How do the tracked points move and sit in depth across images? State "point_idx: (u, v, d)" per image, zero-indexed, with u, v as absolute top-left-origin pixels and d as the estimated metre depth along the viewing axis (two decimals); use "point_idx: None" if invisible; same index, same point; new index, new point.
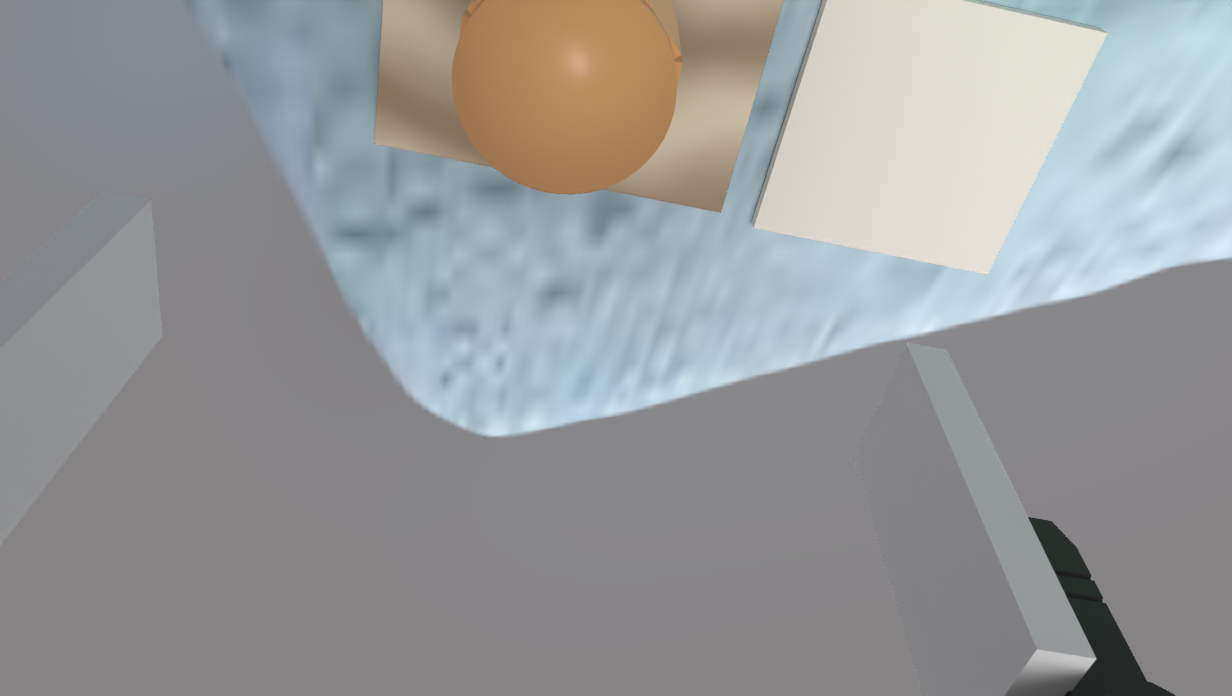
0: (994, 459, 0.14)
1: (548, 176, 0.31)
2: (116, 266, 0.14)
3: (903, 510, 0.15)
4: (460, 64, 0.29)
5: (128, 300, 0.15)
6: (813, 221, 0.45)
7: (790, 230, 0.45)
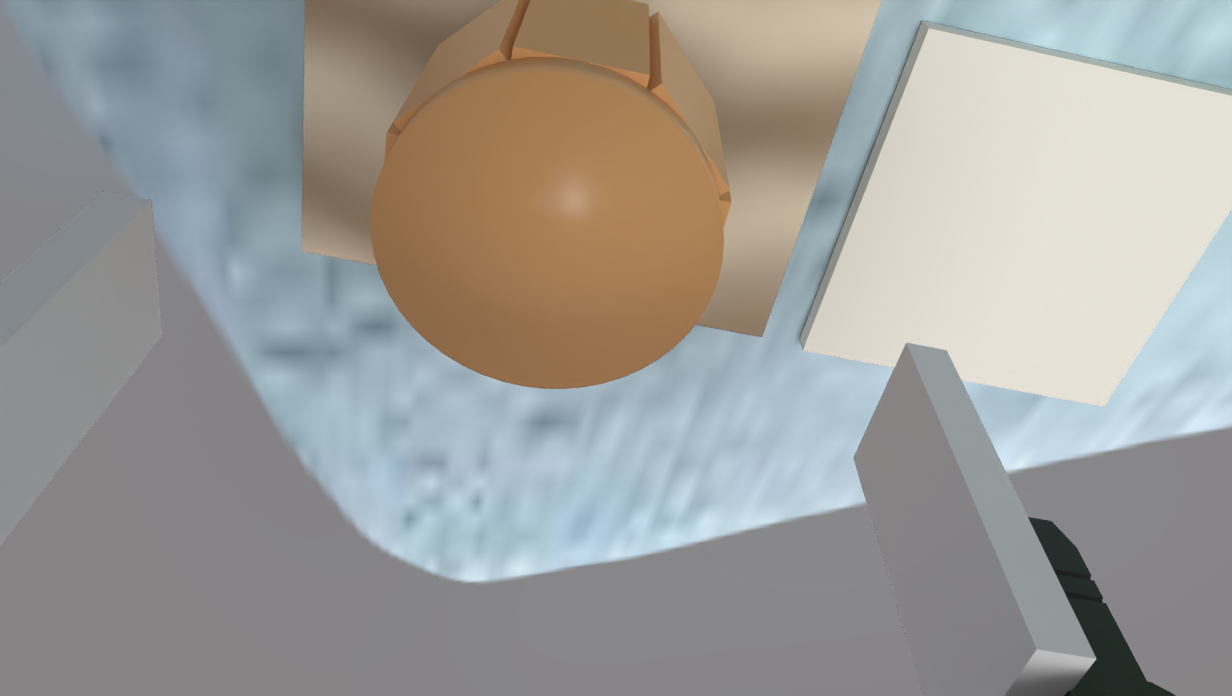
0: (994, 460, 0.14)
1: (524, 365, 0.20)
2: (117, 266, 0.14)
3: (903, 510, 0.15)
4: (383, 210, 0.18)
5: (128, 300, 0.15)
6: (881, 343, 0.34)
7: (851, 353, 0.35)
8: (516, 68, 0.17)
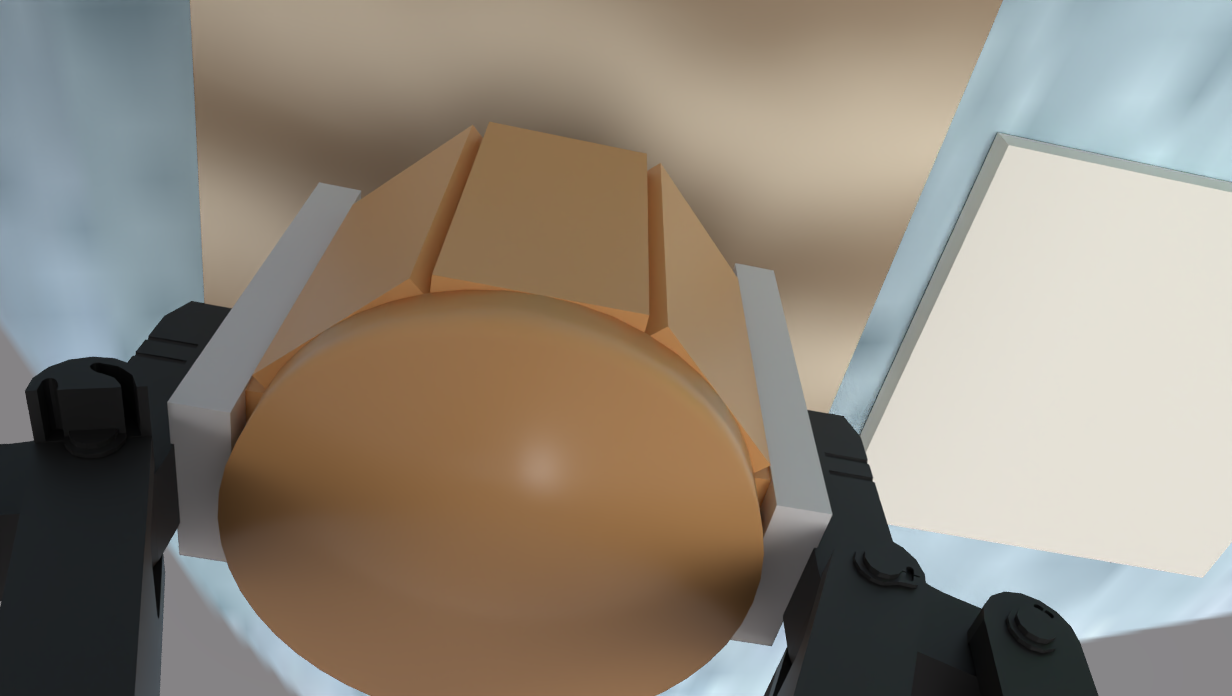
0: (791, 360, 0.15)
1: None
2: None
3: None
4: (237, 512, 0.12)
5: None
6: (933, 507, 0.28)
7: (895, 518, 0.28)
8: (435, 316, 0.11)
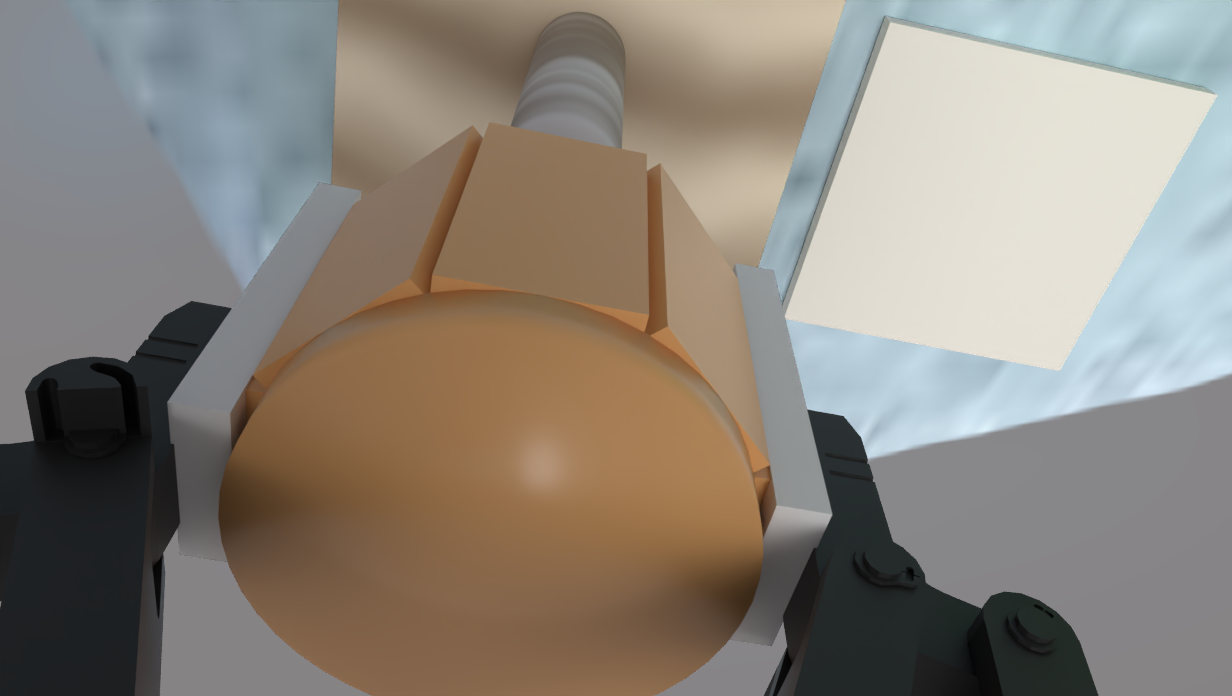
0: (791, 360, 0.15)
1: None
2: None
3: None
4: (237, 511, 0.12)
5: None
6: (855, 311, 0.38)
7: (827, 320, 0.38)
8: (435, 317, 0.11)
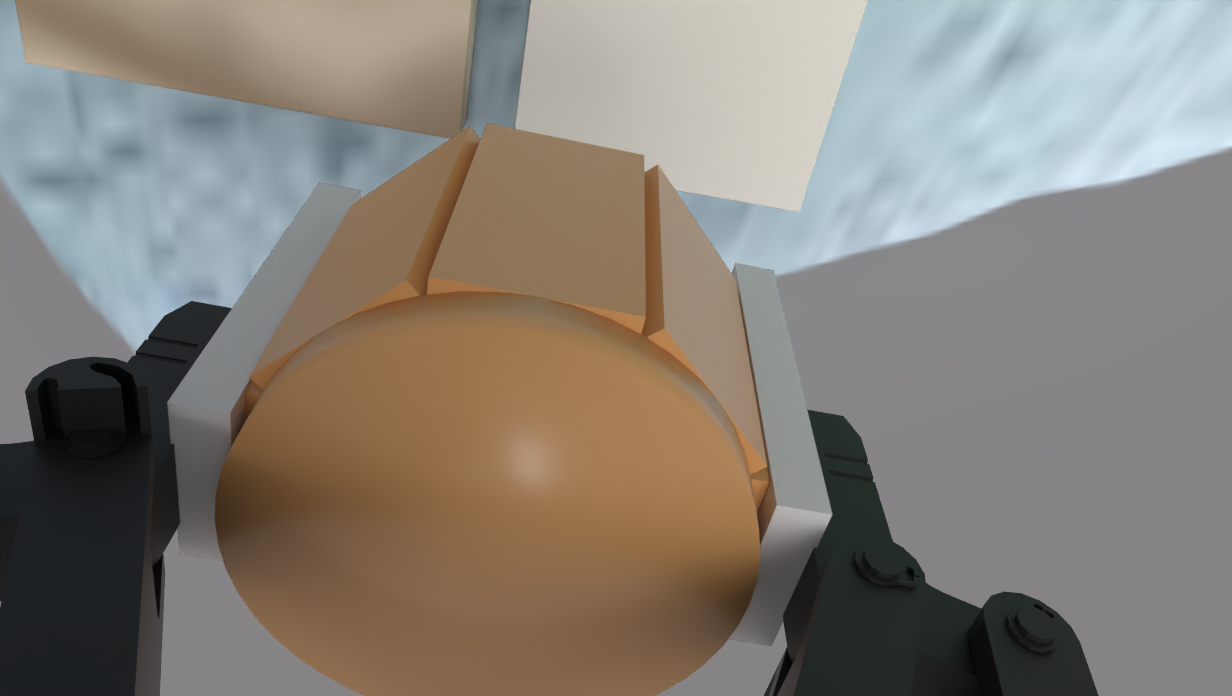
0: (792, 360, 0.15)
1: None
2: None
3: None
4: (233, 513, 0.12)
5: None
6: None
7: None
8: (431, 318, 0.11)
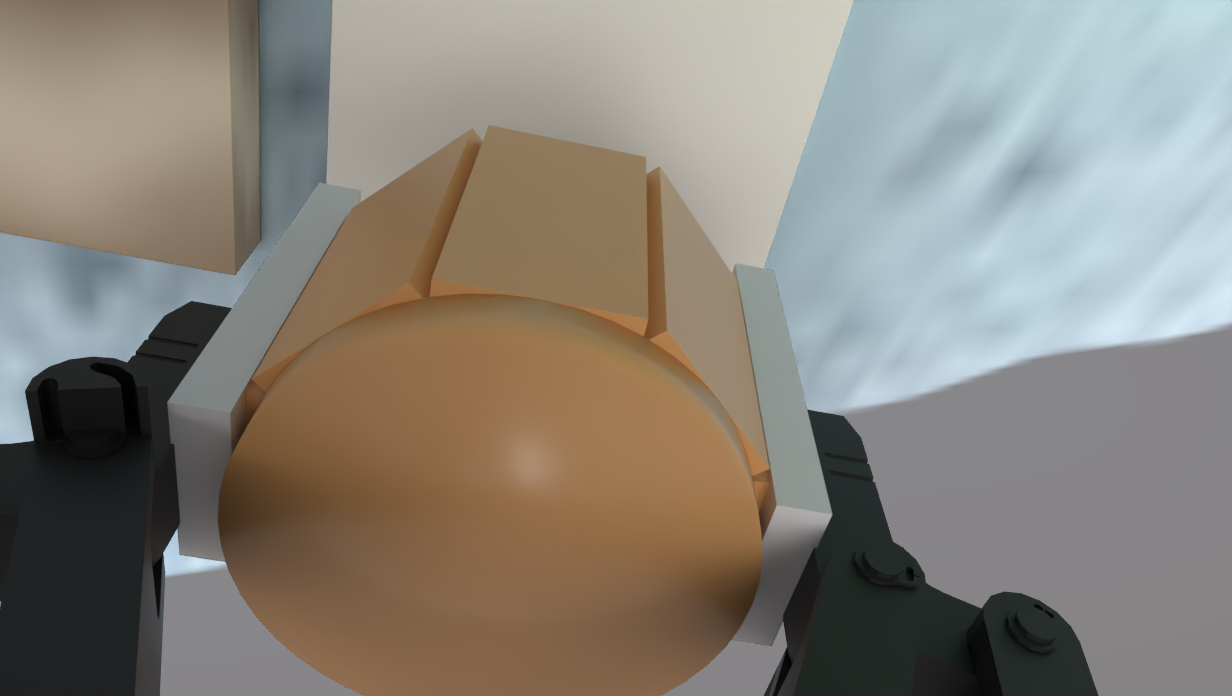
0: (792, 360, 0.15)
1: None
2: None
3: None
4: (237, 515, 0.12)
5: None
6: None
7: None
8: (434, 321, 0.11)
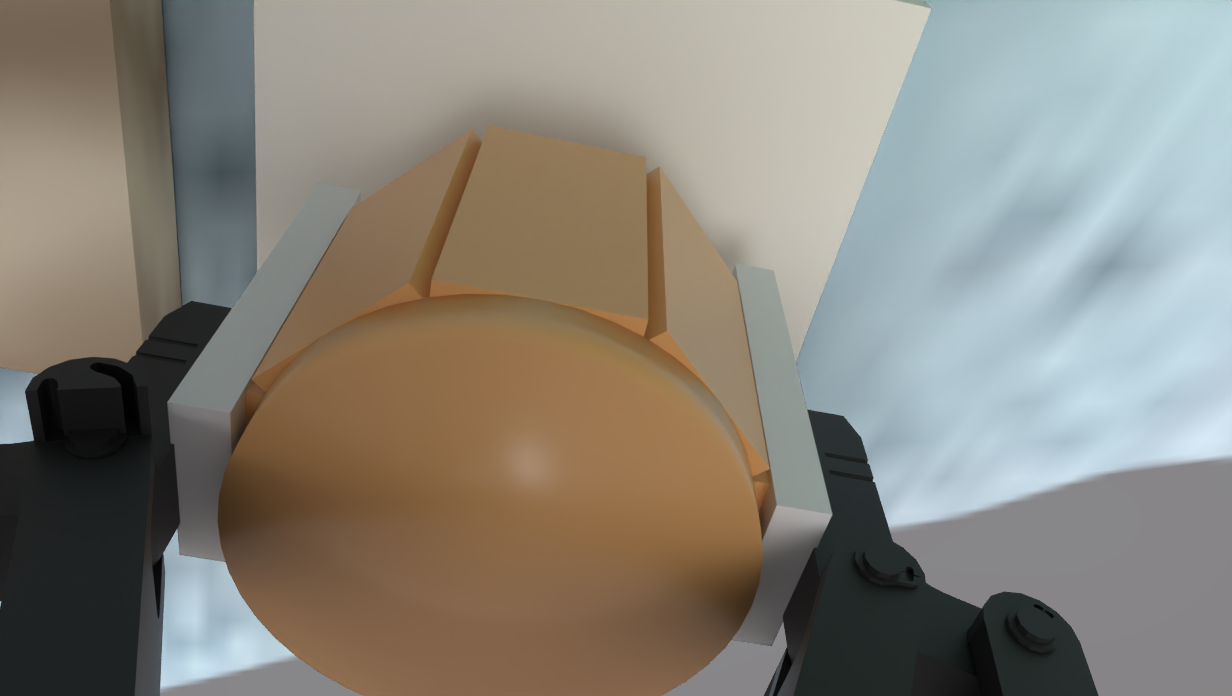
0: (792, 360, 0.15)
1: None
2: None
3: None
4: (236, 516, 0.12)
5: None
6: None
7: None
8: (434, 321, 0.11)
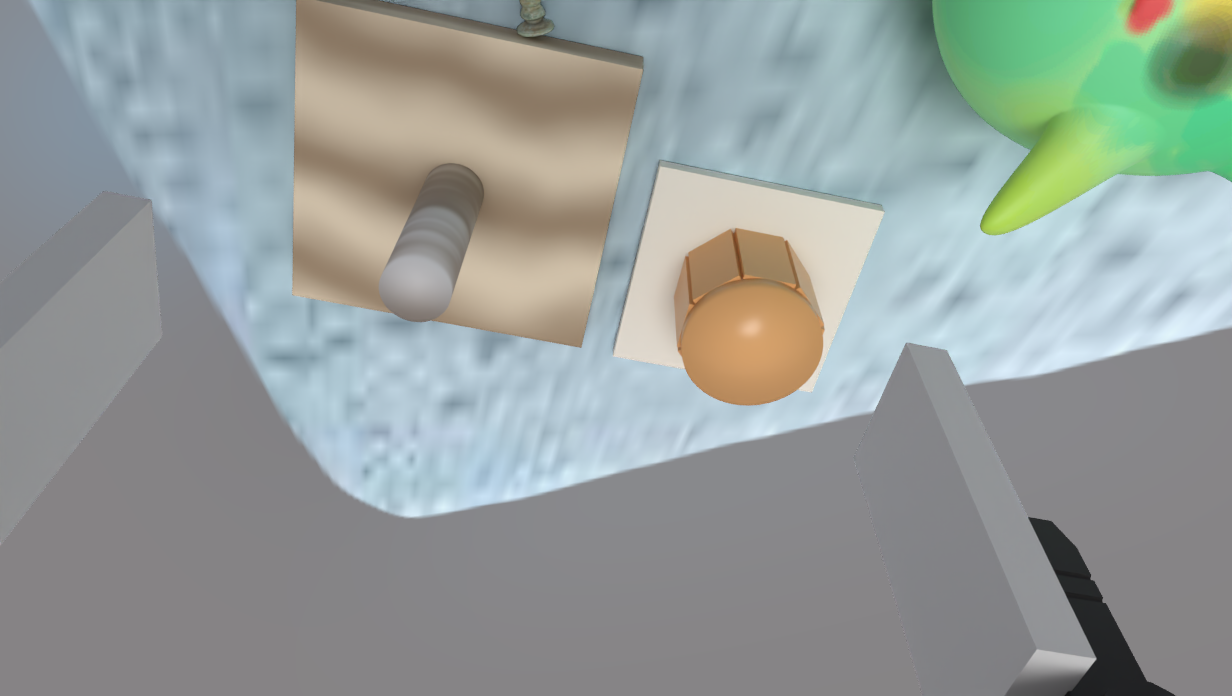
0: (994, 460, 0.14)
1: (735, 395, 0.48)
2: (116, 266, 0.14)
3: (903, 510, 0.15)
4: (689, 335, 0.46)
5: (128, 300, 0.15)
6: (662, 351, 0.54)
7: (644, 357, 0.54)
8: (747, 284, 0.45)
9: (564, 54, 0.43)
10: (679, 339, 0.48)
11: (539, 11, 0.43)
